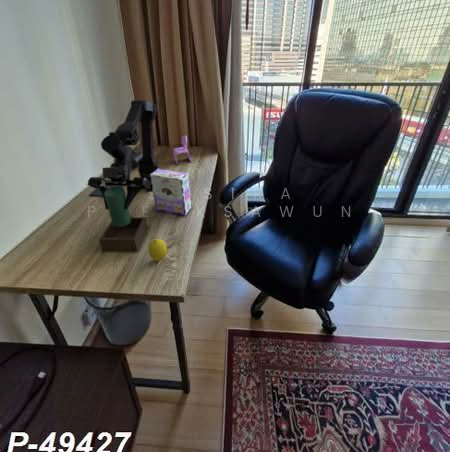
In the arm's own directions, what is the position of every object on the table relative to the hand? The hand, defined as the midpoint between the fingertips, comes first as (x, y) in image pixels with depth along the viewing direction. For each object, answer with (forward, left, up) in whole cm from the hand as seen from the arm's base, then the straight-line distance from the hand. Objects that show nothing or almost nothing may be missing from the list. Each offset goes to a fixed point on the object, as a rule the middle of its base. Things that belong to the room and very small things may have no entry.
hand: (116, 209), depth 80 cm
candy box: (-20, -12, -14) cm, 27 cm away
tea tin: (-1, -1, -6) cm, 6 cm away
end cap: (-10, -61, -14) cm, 63 cm away
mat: (+5, -39, -13) cm, 42 cm away
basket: (-1, -1, -13) cm, 13 cm away
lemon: (-10, +13, -14) cm, 21 cm away
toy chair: (-35, -56, -14) cm, 67 cm away
